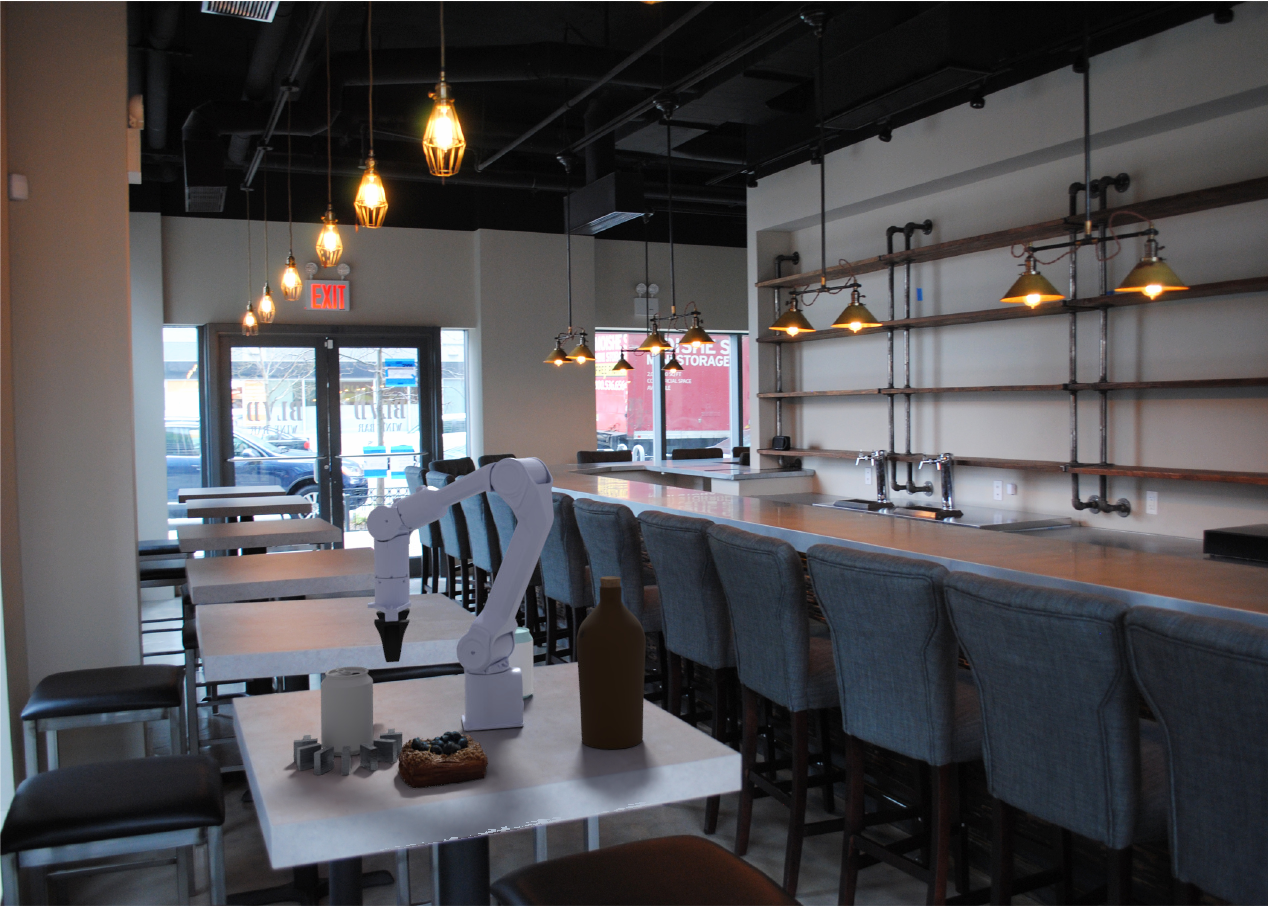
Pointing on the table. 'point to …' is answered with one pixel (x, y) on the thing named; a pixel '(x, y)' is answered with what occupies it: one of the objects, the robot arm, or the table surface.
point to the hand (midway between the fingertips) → (393, 656)
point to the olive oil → (611, 672)
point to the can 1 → (347, 709)
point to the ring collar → (347, 753)
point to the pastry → (442, 760)
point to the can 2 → (523, 659)
